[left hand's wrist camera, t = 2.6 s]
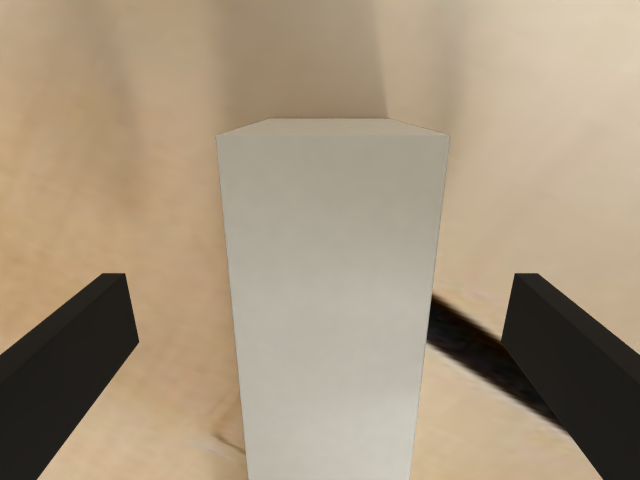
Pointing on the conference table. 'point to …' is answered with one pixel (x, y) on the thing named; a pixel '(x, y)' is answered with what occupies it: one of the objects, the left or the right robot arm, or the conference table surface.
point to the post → (331, 289)
